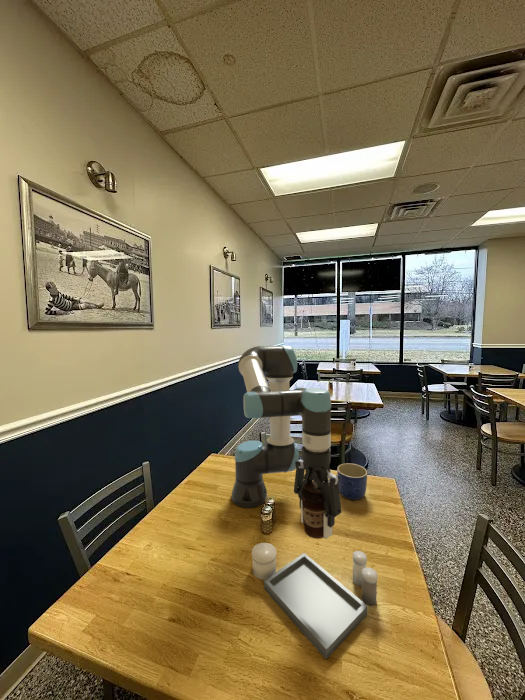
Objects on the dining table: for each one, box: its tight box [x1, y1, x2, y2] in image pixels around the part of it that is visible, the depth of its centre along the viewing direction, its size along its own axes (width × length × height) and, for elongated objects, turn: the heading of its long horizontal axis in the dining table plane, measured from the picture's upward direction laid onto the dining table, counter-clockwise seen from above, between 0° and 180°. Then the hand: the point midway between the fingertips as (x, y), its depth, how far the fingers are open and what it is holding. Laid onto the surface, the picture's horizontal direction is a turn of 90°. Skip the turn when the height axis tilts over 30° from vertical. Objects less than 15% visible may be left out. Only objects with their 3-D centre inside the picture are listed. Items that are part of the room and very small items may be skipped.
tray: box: [263, 552, 369, 660], centre depth 77 cm, size 22×16×2 cm
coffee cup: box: [301, 481, 326, 540], centre depth 79 cm, size 9×8×13 cm
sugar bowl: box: [251, 542, 277, 581], centre depth 87 cm, size 7×7×6 cm
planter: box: [336, 462, 368, 501], centre depth 125 cm, size 12×12×11 cm
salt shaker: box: [352, 550, 368, 587], centre depth 83 cm, size 4×4×8 cm
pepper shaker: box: [361, 566, 378, 607], centre depth 77 cm, size 4×4×8 cm
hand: (316, 528), depth 79 cm, fingers closed on coffee cup, 7 cm apart
